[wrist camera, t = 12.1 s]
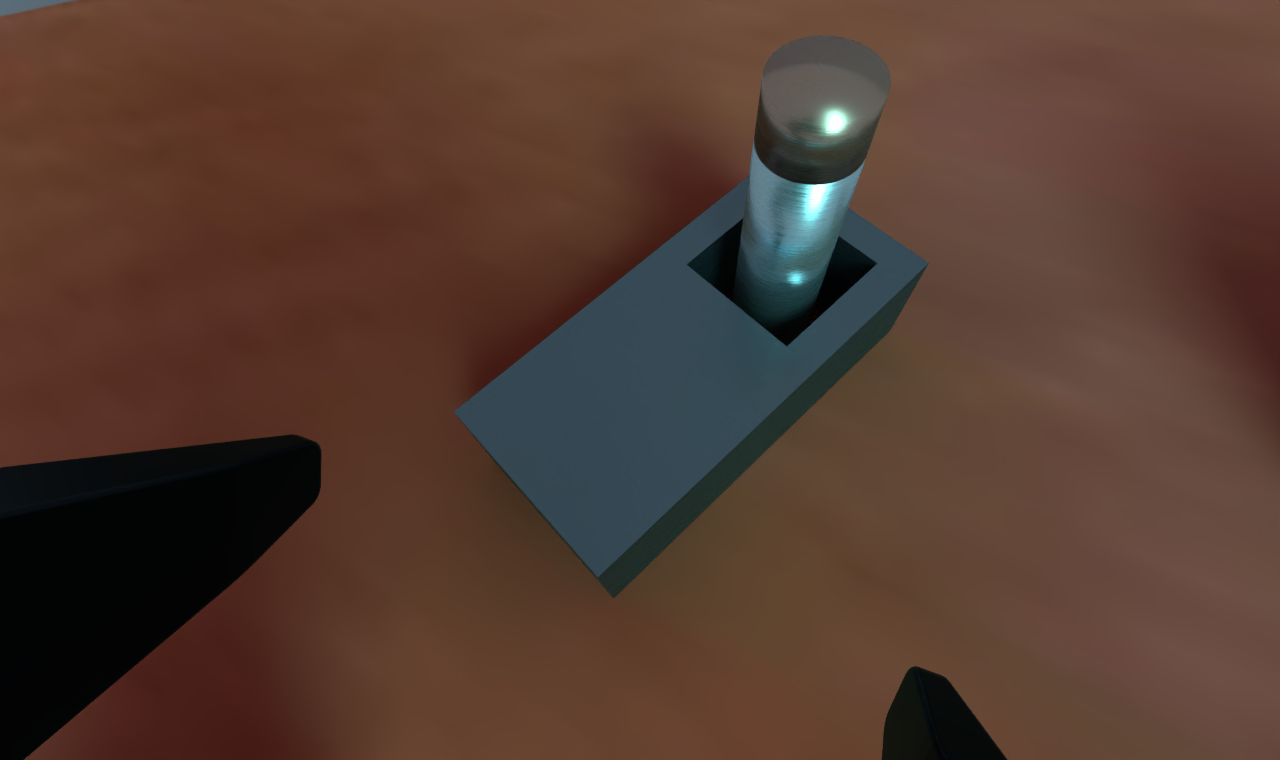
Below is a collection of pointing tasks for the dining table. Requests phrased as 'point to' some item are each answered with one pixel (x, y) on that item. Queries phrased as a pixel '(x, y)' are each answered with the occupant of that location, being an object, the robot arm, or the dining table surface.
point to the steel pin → (804, 173)
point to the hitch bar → (675, 387)
